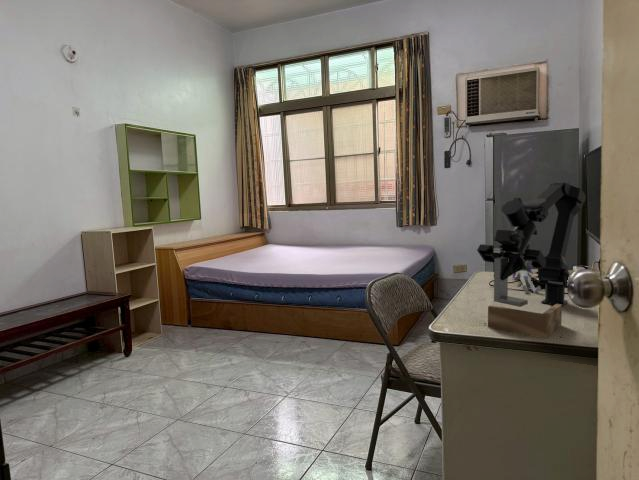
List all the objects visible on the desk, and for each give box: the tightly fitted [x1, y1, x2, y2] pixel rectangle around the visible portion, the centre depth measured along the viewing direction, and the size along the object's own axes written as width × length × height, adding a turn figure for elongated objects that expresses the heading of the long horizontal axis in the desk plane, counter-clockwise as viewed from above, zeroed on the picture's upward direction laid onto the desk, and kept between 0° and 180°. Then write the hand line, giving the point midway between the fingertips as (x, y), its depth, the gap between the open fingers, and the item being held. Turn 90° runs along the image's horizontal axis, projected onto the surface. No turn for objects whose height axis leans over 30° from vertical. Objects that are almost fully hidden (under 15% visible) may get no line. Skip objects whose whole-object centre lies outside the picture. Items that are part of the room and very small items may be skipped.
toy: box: [511, 262, 542, 294], centre depth 173 cm, size 10×8×30 cm
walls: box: [487, 304, 563, 339], centre depth 123 cm, size 14×15×6 cm
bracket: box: [493, 257, 529, 308], centre depth 123 cm, size 4×8×12 cm, turn 36°
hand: (498, 278), depth 124 cm, fingers closed on bracket, 2 cm apart
